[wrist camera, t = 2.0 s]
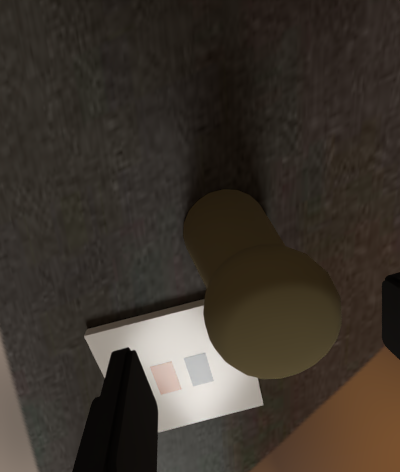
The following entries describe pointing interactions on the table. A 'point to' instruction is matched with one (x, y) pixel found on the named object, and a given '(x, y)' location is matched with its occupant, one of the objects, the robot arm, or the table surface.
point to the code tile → (178, 364)
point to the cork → (259, 289)
